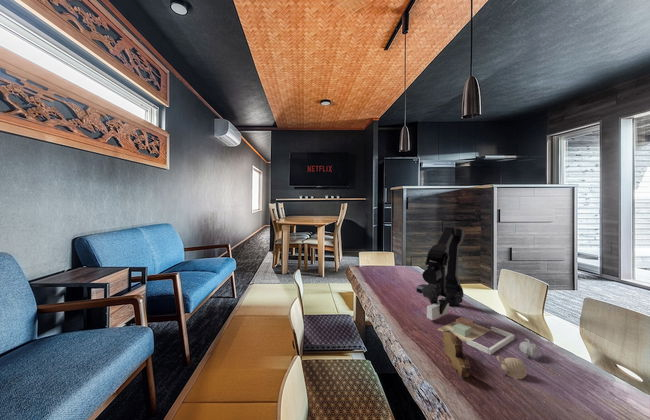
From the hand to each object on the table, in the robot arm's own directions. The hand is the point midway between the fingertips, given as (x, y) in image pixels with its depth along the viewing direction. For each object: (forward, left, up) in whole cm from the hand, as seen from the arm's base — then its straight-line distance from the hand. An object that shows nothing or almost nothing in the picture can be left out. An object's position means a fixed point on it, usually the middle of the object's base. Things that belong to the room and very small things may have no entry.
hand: (438, 312), depth 111 cm
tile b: (+3, +12, -2) cm, 13 cm away
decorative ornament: (+11, +32, -4) cm, 35 cm away
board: (0, +11, -4) cm, 12 cm away
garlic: (-4, +31, -4) cm, 32 cm away
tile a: (-3, +10, -2) cm, 11 cm away
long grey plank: (0, 0, -1) cm, 1 cm away
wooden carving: (+22, +21, -4) cm, 31 cm away
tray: (0, +21, -4) cm, 22 cm away
